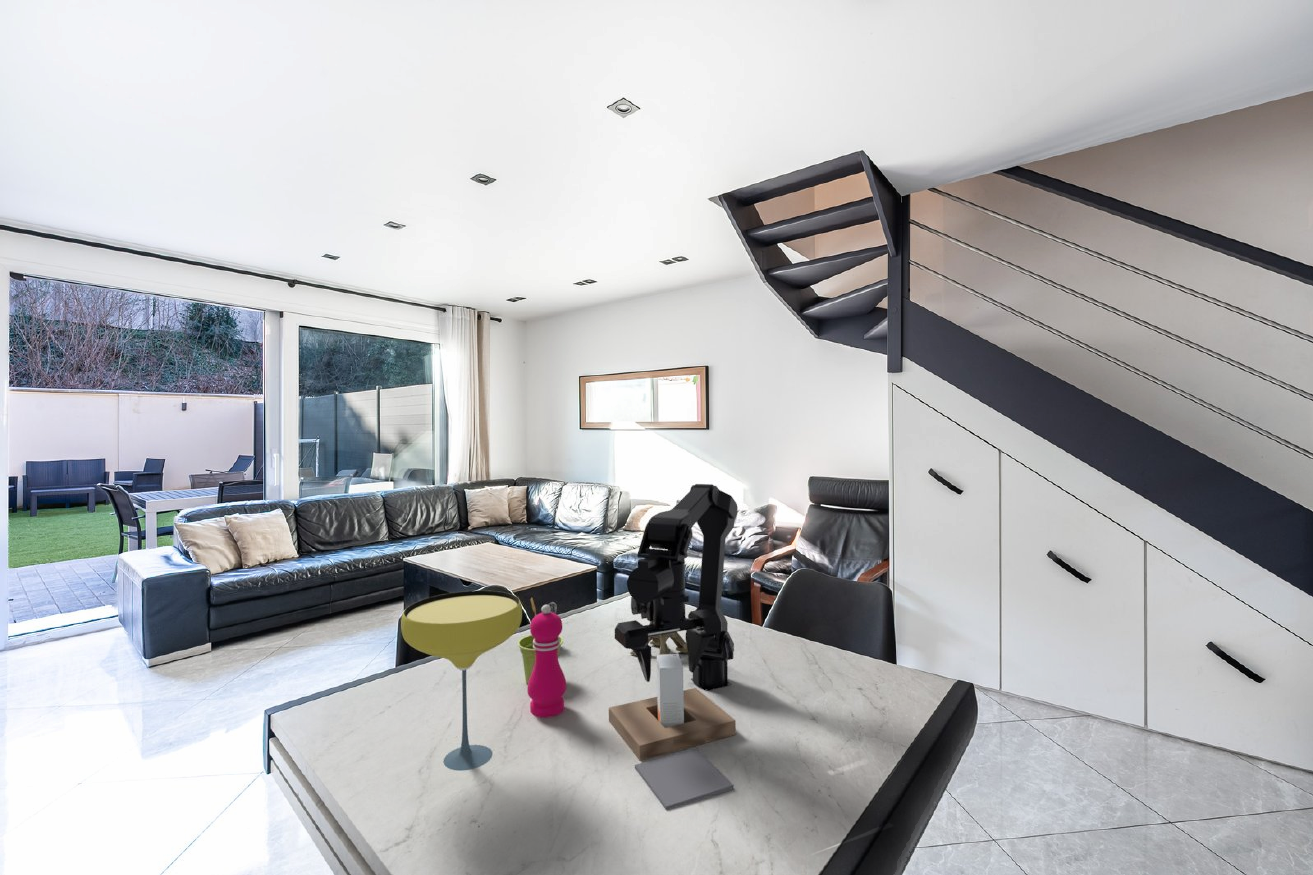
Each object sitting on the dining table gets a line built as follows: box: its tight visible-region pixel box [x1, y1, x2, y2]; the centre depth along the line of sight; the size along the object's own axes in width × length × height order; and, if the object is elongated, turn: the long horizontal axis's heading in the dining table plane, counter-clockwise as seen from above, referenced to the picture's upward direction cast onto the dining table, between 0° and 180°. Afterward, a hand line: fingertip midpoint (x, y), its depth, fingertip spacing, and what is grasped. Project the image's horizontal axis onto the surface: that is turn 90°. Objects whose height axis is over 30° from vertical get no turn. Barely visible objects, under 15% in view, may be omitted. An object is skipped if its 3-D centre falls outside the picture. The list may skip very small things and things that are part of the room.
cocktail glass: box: [400, 590, 523, 772], centre depth 90 cm, size 18×18×25 cm
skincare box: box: [656, 653, 684, 728], centre depth 100 cm, size 6×4×12 cm
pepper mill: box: [527, 604, 567, 718], centre depth 107 cm, size 7×7×20 cm
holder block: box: [608, 687, 737, 762], centre depth 100 cm, size 18×14×2 cm
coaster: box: [634, 747, 735, 811], centre depth 85 cm, size 11×11×1 cm
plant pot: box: [517, 634, 564, 685], centre depth 119 cm, size 9×9×9 cm
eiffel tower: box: [629, 621, 688, 656], centre depth 136 cm, size 11×11×25 cm
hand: (669, 676), depth 100 cm, fingers open, 8 cm apart
